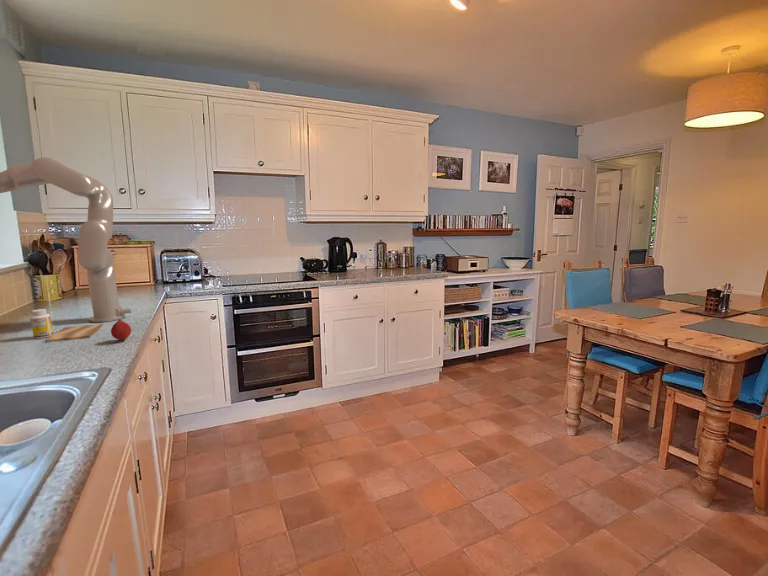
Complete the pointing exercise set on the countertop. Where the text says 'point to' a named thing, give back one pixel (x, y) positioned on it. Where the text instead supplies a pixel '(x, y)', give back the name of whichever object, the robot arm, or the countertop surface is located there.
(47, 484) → the countertop surface
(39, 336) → the supplement bottle
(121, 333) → the onion
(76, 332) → the wooden cutting board
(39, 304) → the countertop surface
